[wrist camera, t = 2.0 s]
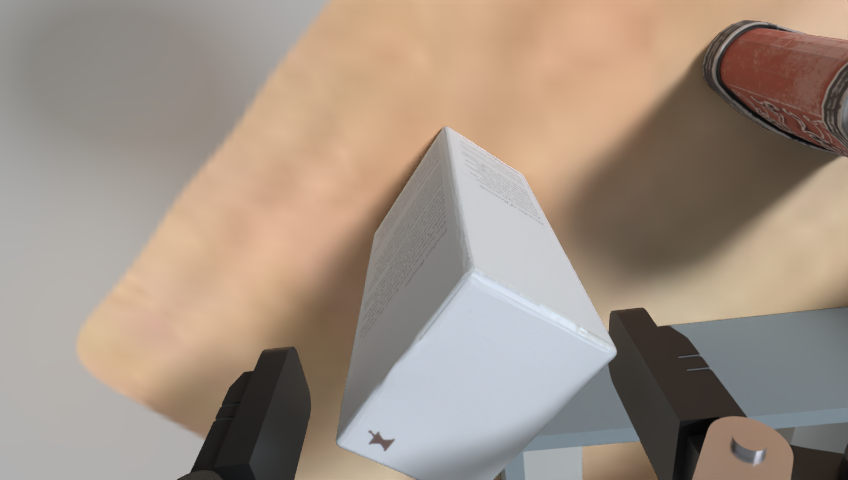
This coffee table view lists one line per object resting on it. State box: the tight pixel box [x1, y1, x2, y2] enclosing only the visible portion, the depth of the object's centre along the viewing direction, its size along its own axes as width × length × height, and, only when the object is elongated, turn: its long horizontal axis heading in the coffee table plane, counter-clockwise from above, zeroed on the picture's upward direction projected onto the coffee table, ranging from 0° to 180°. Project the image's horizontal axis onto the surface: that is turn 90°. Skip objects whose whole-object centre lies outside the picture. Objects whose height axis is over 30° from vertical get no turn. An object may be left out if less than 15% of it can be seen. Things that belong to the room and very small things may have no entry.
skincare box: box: [336, 126, 617, 480], centre depth 17 cm, size 6×4×12 cm
